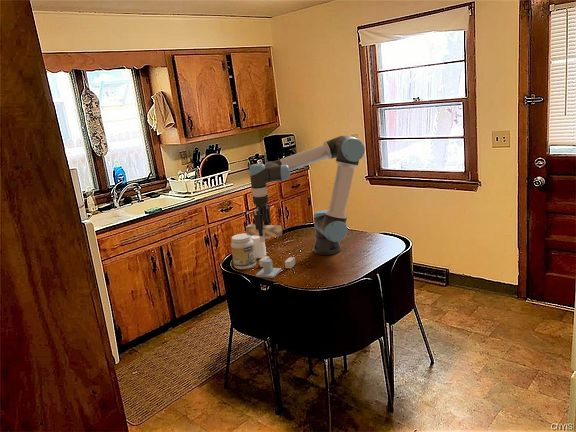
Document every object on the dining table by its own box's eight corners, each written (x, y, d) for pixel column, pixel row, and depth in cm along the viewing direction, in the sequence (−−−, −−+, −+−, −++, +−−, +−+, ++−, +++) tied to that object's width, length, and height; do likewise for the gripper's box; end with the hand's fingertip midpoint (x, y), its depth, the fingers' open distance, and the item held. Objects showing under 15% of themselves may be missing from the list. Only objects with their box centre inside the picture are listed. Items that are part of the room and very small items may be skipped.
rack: (295, 263, 247) (294, 257, 246) (290, 268, 241) (289, 262, 240) (265, 262, 254) (264, 256, 253) (259, 266, 248) (259, 260, 247)
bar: (282, 234, 233) (281, 225, 232) (278, 236, 229) (277, 228, 228) (251, 232, 241) (250, 224, 239) (246, 235, 237) (245, 226, 236)
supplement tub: (250, 270, 245) (246, 240, 240) (230, 269, 249) (225, 240, 245) (260, 261, 255) (256, 232, 251) (240, 261, 260) (236, 232, 255)
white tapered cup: (264, 258, 259) (261, 238, 256) (250, 259, 261) (247, 239, 258) (268, 253, 267) (265, 233, 263) (254, 254, 268) (251, 234, 265)
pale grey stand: (281, 270, 240) (280, 257, 238) (273, 277, 232) (271, 264, 230) (264, 269, 244) (262, 256, 242) (255, 276, 236) (253, 263, 234)
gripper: (261, 191, 239) (266, 234, 245) (244, 199, 223) (250, 245, 229) (274, 191, 235) (279, 235, 241) (258, 199, 220) (263, 246, 226)
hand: (265, 240), depth 235 cm, fingers closed on bar, 4 cm apart
